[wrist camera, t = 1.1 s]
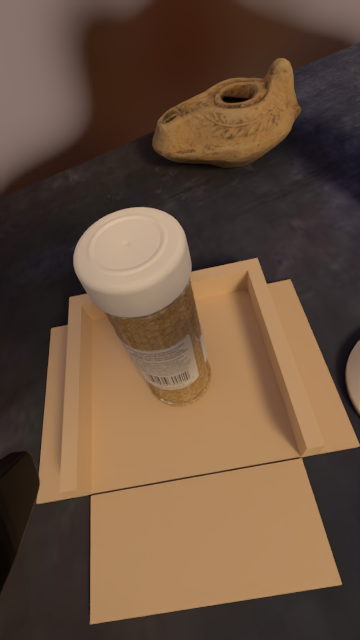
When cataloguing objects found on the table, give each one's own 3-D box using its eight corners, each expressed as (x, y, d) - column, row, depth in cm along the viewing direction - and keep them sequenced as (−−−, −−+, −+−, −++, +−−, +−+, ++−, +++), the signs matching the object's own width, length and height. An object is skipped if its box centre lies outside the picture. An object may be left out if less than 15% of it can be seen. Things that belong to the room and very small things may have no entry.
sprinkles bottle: (218, 355, 25) (199, 206, 13) (202, 416, 22) (163, 298, 11) (160, 344, 26) (98, 198, 15) (139, 400, 24) (47, 279, 12)
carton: (410, 572, 17) (434, 578, 15) (28, 632, 18) (0, 646, 16) (285, 272, 28) (289, 251, 26) (53, 320, 29) (39, 303, 27)
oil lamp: (146, 159, 40) (127, 84, 33) (257, 112, 41) (260, 32, 35) (187, 210, 34) (174, 131, 27) (314, 154, 36) (330, 66, 29)
